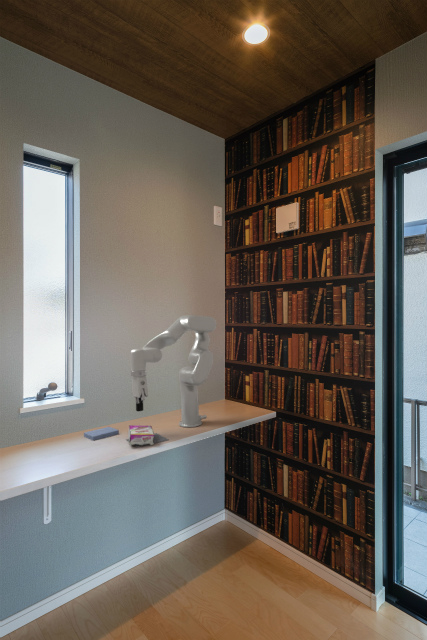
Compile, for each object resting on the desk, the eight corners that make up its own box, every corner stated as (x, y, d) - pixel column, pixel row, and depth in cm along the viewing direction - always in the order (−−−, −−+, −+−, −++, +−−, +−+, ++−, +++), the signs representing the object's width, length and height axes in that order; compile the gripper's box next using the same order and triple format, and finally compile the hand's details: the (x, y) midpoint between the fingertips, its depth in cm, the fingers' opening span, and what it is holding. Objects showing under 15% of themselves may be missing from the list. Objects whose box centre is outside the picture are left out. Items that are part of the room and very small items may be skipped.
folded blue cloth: (109, 431, 196) (109, 426, 196) (118, 435, 189) (118, 430, 189) (83, 437, 186) (83, 432, 186) (93, 441, 179) (92, 436, 179)
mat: (156, 433, 187) (156, 433, 187) (168, 440, 176) (168, 439, 176) (126, 440, 178) (126, 439, 178) (136, 447, 167) (136, 446, 167)
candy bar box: (151, 424, 184) (154, 434, 169) (150, 434, 184) (154, 445, 168) (128, 424, 182) (129, 434, 166) (127, 434, 181) (129, 445, 166)
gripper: (151, 374, 180) (152, 412, 179) (140, 371, 192) (141, 407, 192) (137, 376, 175) (138, 414, 175) (126, 373, 188) (127, 409, 188)
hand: (139, 410), depth 184 cm, fingers closed
